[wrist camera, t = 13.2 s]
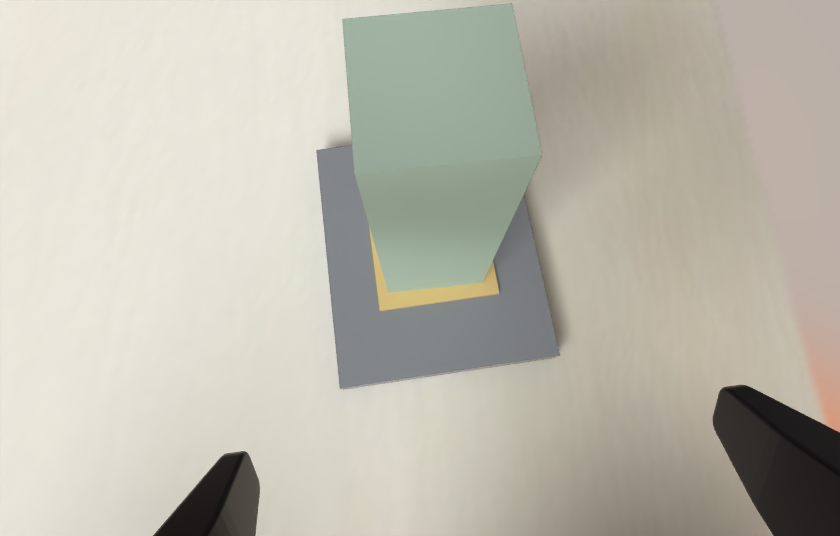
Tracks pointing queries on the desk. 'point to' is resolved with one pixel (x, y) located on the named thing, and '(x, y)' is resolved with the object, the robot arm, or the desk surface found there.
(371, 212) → the sage block
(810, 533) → the robot arm
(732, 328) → the desk surface
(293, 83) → the desk surface
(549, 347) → the pad
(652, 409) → the desk surface
